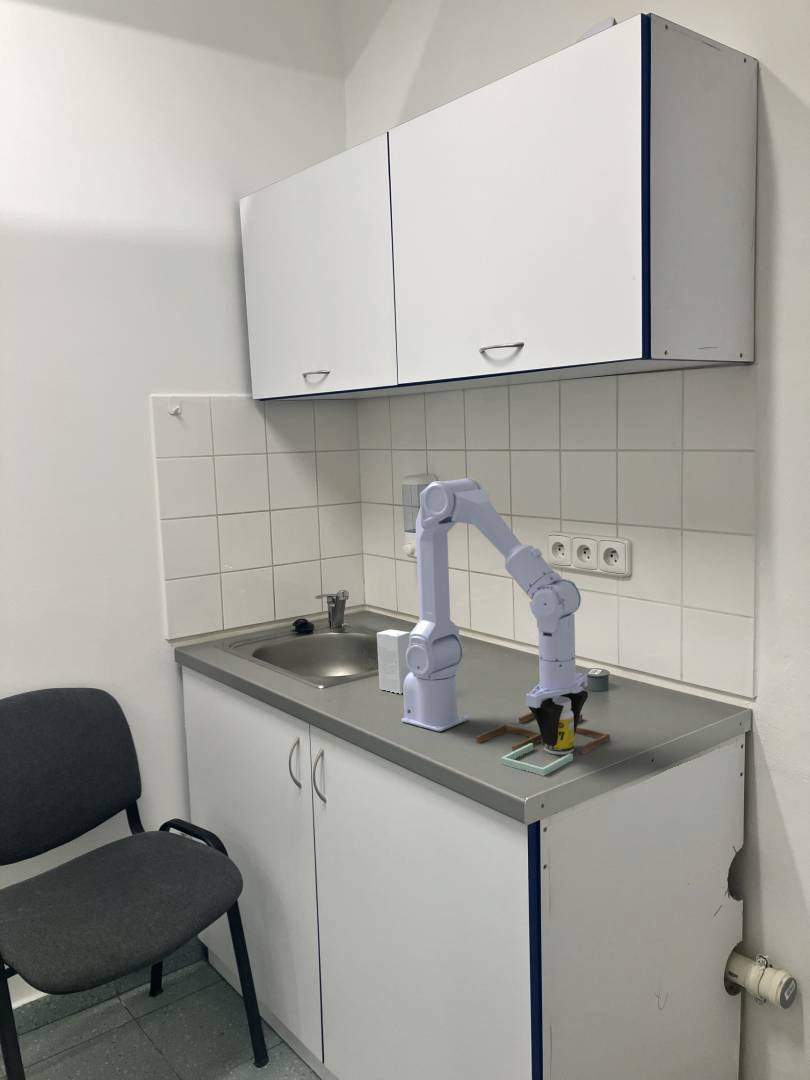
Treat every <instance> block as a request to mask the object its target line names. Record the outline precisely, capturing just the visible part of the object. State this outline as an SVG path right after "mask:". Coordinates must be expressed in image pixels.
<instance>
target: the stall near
mask: <svg viewBox="0 0 810 1080" xmlns="http://www.w3.org/2000/svg"><path fill="white" fill-rule="evenodd" d="M504 732H508V733H509V732H510V733H513V734H517V735H521V736H524V737H529V738H527V739H525V740H522V741H520V742H519V743H518V742H517V744H514V745H512V748H511V752H513V751H515V750H518V749H520V748H522V747H524V746H526V745H528V744H530V743H533V745H534V744H536V743H538V742H541V738H542V736H541V733H540V731H535V730H533V729H532V730H531V729H527V728H523V727H520V726H515V725H511V724H508V723H507V724H506V723H504V724H501V725H500V726H497V727H495V728H493V729H491V730H488V731H486V732H483V733H480V734H479V735H477V736H475V743H476V744H480V743H483V742H484V741H486V740H489V739H492V738H493V737H495V736H497V735H500V734H502V733H504Z"/></svg>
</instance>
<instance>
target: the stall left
mask: <svg viewBox="0 0 810 1080" xmlns="http://www.w3.org/2000/svg"><path fill="white" fill-rule="evenodd" d="M532 719H535V717H534V715H533V713H532V711H531V712H529V713H527V714H524V715H521V716H519V717H518V724H524V723H526V722H528V721H530V720H532ZM581 721H583V714H582V713H580V716H579V719H578V723H579V722H581Z"/></svg>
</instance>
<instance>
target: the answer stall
mask: <svg viewBox="0 0 810 1080" xmlns="http://www.w3.org/2000/svg"><path fill="white" fill-rule="evenodd" d="M533 750H534V744H533V743H530V744H528V745H526V746H524V747H522V748H520V749H518V750H515V751H513V752H512V751H511V752H510V753H508V754H506V755H504V756H501V757H500V764H501V765H503V766H508V767H510V768H514V769H518V770H521V769H522V770H521V771H524V770H526V771H525V772H528V771H530V772H529V773H531V772H533V773H532V774H535V773H536V775H538V774H539V775H540V776H543V777H544V776H546V775H549V774H550V773H552V772H553V771H556V770H557V769H559V768H561V767H563V766H564V765H566V764H568V763H570V762H572V761H574V754H573V752H571V753H569V754H565V755H564V756H562V757H560V758H559V759H556V760H555V761H553V762H551V763H549V764H547V765H545V766H543V767H542V766H537V765H535V764H530V763H528V762H522V761H519V760H516V759H518V758H519V756H520V757H522V756H523V754H524V755H525V753H526V754H528V753H529V752H532V751H533ZM521 755H522V756H521ZM517 757H518V758H517ZM539 775H538V776H539Z"/></svg>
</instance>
